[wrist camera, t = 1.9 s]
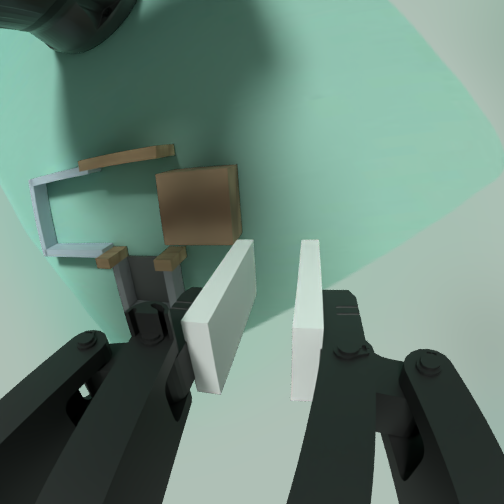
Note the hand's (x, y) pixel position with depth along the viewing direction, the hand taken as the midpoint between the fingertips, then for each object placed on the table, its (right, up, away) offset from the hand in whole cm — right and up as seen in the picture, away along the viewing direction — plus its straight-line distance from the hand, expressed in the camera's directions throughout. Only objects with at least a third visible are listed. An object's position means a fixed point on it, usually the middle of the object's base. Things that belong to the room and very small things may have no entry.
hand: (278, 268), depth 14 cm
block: (-6, +6, +17) cm, 19 cm away
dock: (-24, +6, +20) cm, 32 cm away
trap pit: (-13, -3, +22) cm, 25 cm away
